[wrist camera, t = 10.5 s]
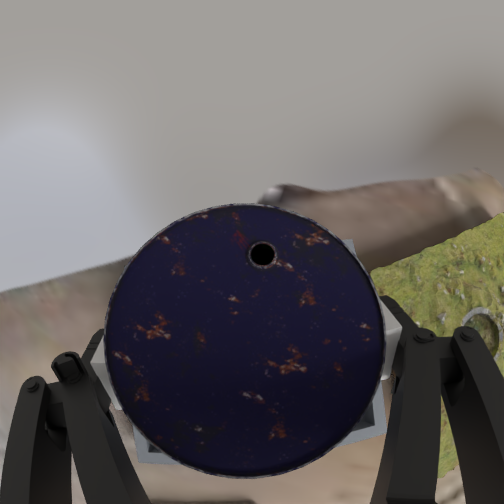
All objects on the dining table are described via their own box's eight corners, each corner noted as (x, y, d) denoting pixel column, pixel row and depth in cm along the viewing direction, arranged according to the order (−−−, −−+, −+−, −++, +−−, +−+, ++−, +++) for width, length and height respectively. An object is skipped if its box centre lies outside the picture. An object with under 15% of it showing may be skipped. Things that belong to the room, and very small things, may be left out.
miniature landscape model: (544, 364, 23) (569, 359, 18) (419, 473, 20) (445, 485, 15) (493, 222, 30) (514, 203, 26) (354, 281, 28) (373, 263, 23)
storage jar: (295, 428, 21) (353, 498, 7) (175, 399, 22) (75, 425, 8) (321, 311, 24) (398, 231, 11) (206, 286, 25) (154, 181, 12)
